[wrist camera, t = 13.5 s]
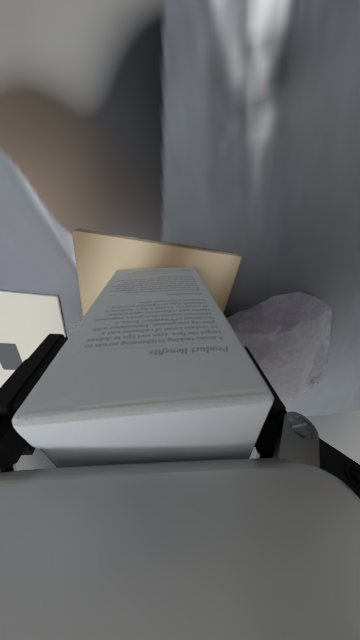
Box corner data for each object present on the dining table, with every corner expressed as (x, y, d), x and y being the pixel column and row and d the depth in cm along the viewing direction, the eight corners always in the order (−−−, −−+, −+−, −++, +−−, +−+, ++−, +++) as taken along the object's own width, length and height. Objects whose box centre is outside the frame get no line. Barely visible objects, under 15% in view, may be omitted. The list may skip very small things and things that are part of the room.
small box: (193, 350, 17) (231, 510, 8) (132, 355, 16) (101, 529, 8) (197, 263, 13) (287, 401, 4) (114, 266, 12) (-4, 430, 3)
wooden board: (236, 253, 13) (242, 257, 13) (203, 360, 19) (205, 368, 18) (78, 228, 12) (71, 230, 11) (92, 355, 17) (89, 363, 16)
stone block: (296, 273, 17) (203, 321, 16) (352, 291, 13) (231, 355, 12) (295, 354, 24) (228, 391, 23) (331, 383, 20) (252, 427, 19)
